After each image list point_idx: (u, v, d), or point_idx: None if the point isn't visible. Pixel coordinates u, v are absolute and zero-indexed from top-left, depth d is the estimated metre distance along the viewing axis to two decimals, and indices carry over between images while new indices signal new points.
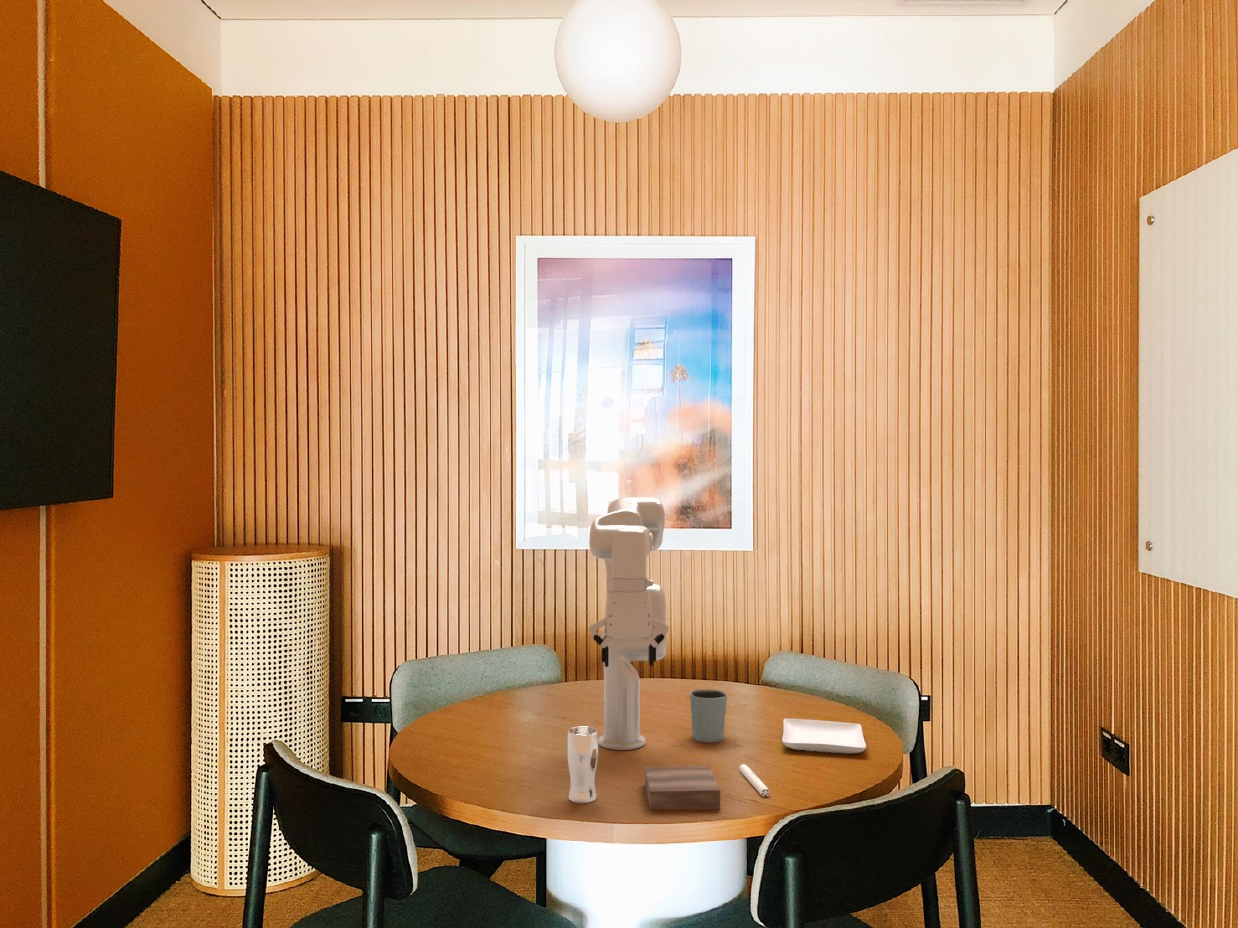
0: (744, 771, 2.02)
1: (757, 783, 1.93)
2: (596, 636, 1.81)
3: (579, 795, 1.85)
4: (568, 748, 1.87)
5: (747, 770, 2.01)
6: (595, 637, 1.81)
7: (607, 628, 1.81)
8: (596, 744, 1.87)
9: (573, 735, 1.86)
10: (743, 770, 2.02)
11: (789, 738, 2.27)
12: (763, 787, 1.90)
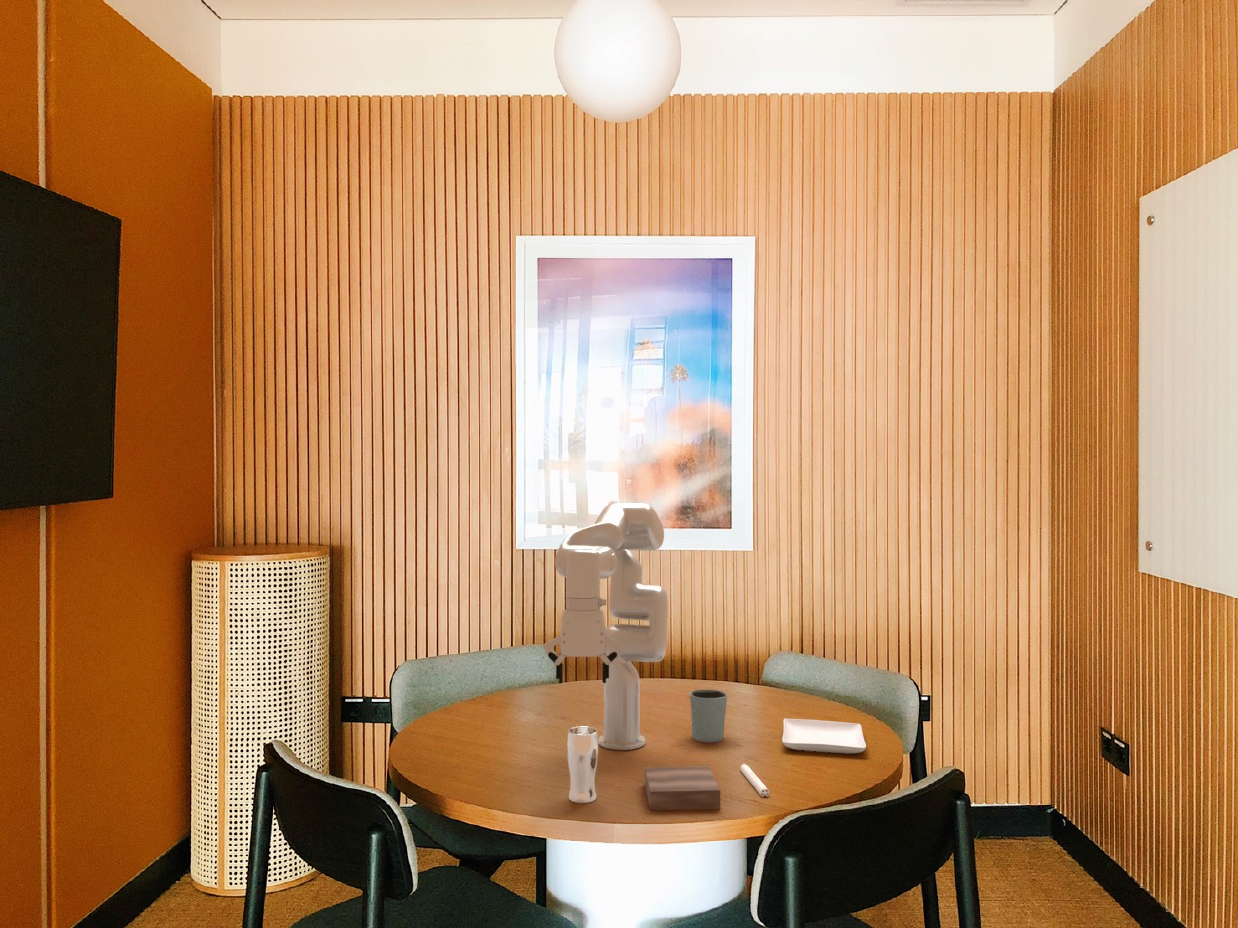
0: (745, 771, 2.02)
1: (756, 784, 1.93)
2: (550, 653, 1.87)
3: (579, 795, 1.85)
4: (568, 748, 1.87)
5: (747, 770, 2.01)
6: (549, 654, 1.87)
7: (561, 646, 1.86)
8: (596, 744, 1.87)
9: (573, 735, 1.86)
10: (744, 770, 2.02)
11: (789, 738, 2.27)
12: (762, 787, 1.90)
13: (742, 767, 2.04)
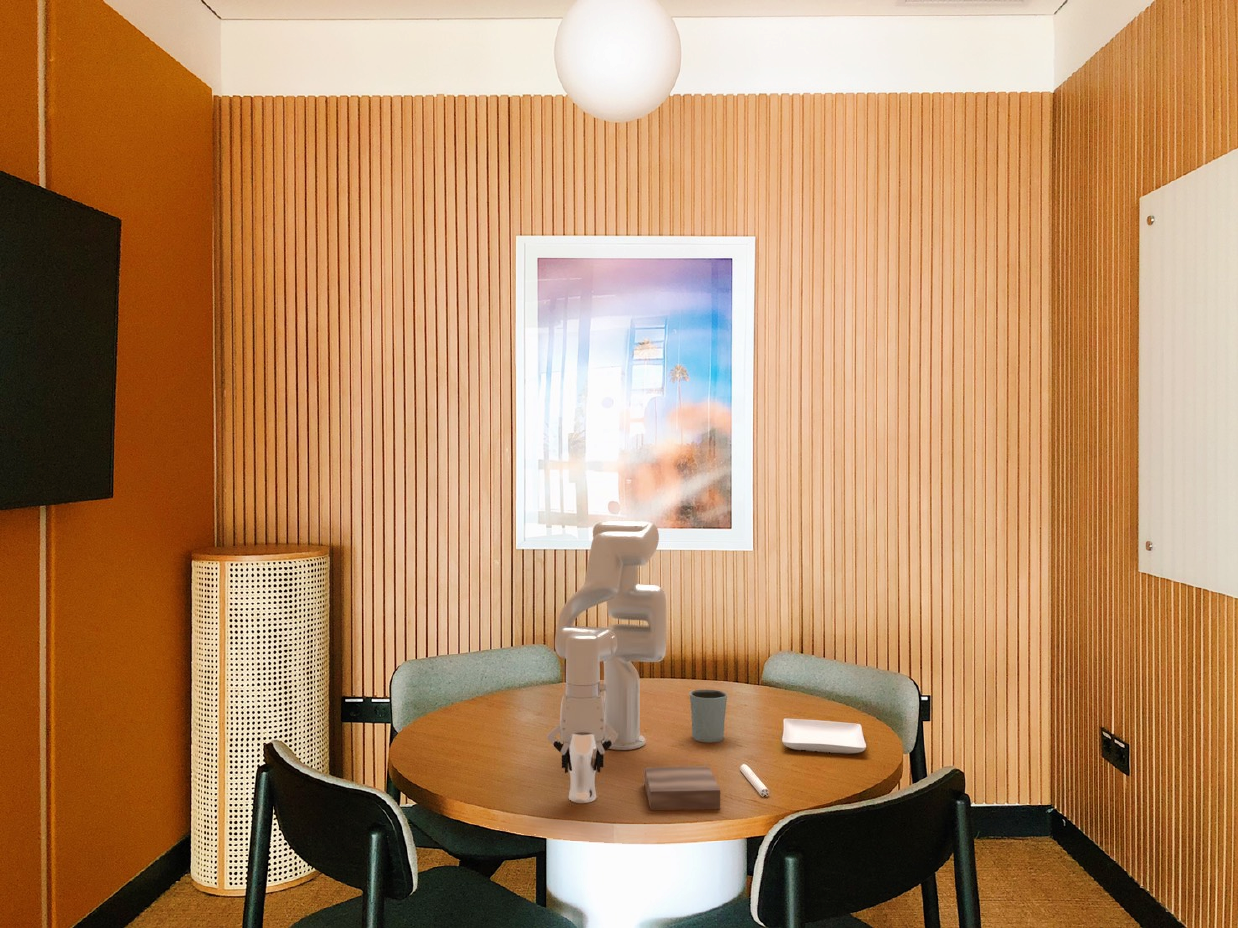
0: (744, 771, 2.02)
1: (756, 783, 1.93)
2: (556, 743, 1.87)
3: (579, 795, 1.85)
4: (568, 748, 1.87)
5: (747, 770, 2.01)
6: (555, 744, 1.87)
7: (560, 732, 1.86)
8: (596, 744, 1.87)
9: (573, 735, 1.85)
10: (743, 770, 2.03)
11: (789, 738, 2.27)
12: (762, 787, 1.90)
13: (742, 767, 2.04)
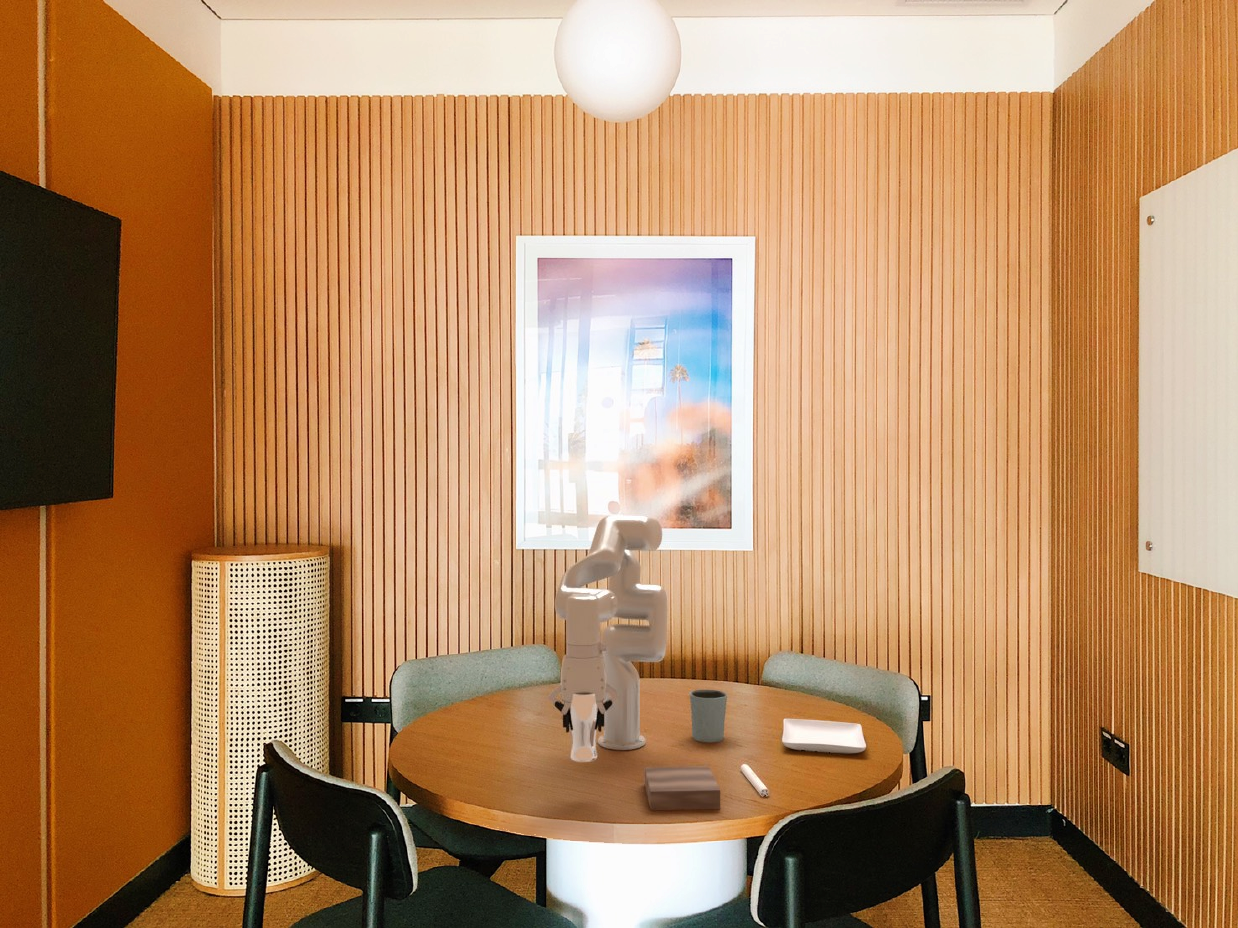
0: (745, 771, 2.02)
1: (756, 783, 1.93)
2: (557, 703, 1.88)
3: (580, 754, 1.86)
4: (569, 708, 1.87)
5: (748, 770, 2.01)
6: (556, 704, 1.88)
7: (561, 692, 1.87)
8: (597, 704, 1.87)
9: (574, 695, 1.86)
10: (744, 770, 2.03)
11: (789, 738, 2.27)
12: (762, 787, 1.90)
13: (742, 767, 2.04)
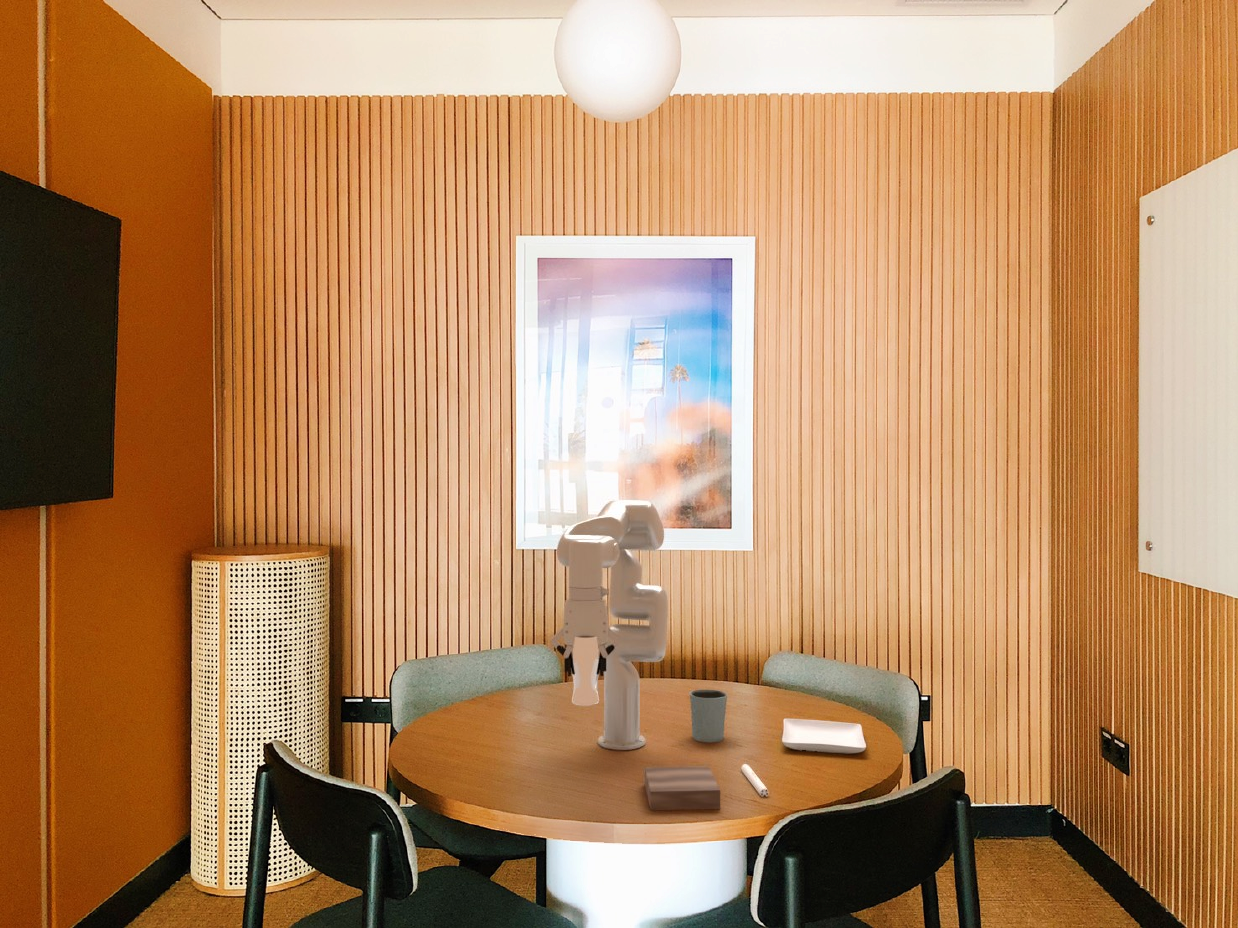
0: (745, 771, 2.02)
1: (756, 783, 1.93)
2: (559, 647, 1.87)
3: (582, 698, 1.86)
4: (571, 651, 1.87)
5: (748, 770, 2.01)
6: (558, 648, 1.87)
7: (563, 636, 1.86)
8: (599, 648, 1.87)
9: (576, 638, 1.86)
10: (744, 770, 2.03)
11: (789, 738, 2.27)
12: (762, 787, 1.90)
13: (743, 767, 2.04)
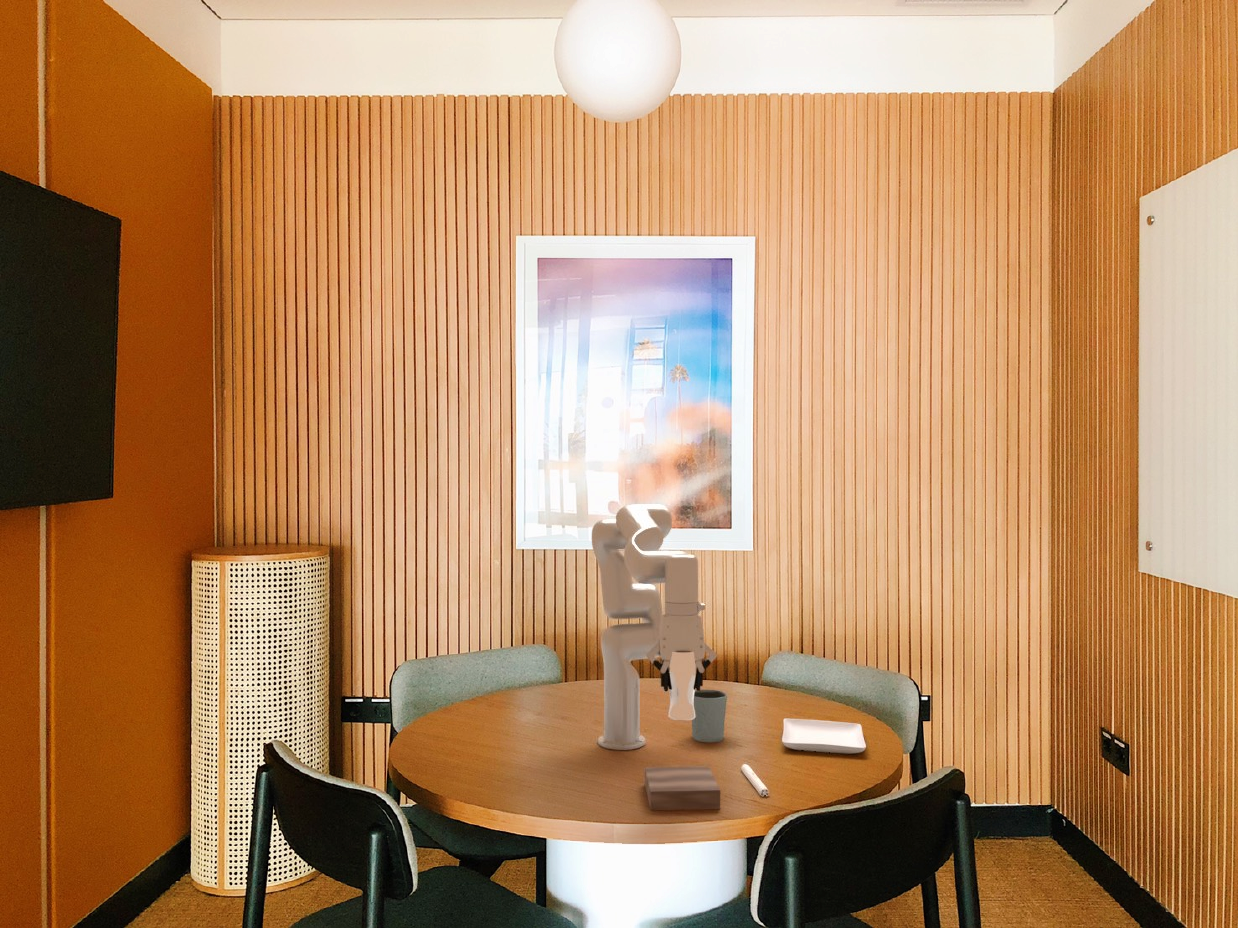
0: (745, 771, 2.02)
1: (756, 784, 1.93)
2: (656, 662, 1.88)
3: (680, 713, 1.86)
4: (668, 666, 1.88)
5: (748, 770, 2.01)
6: (655, 663, 1.88)
7: (661, 651, 1.87)
8: (696, 662, 1.88)
9: (674, 653, 1.87)
10: (744, 770, 2.03)
11: (789, 738, 2.27)
12: (762, 787, 1.90)
13: (743, 767, 2.04)
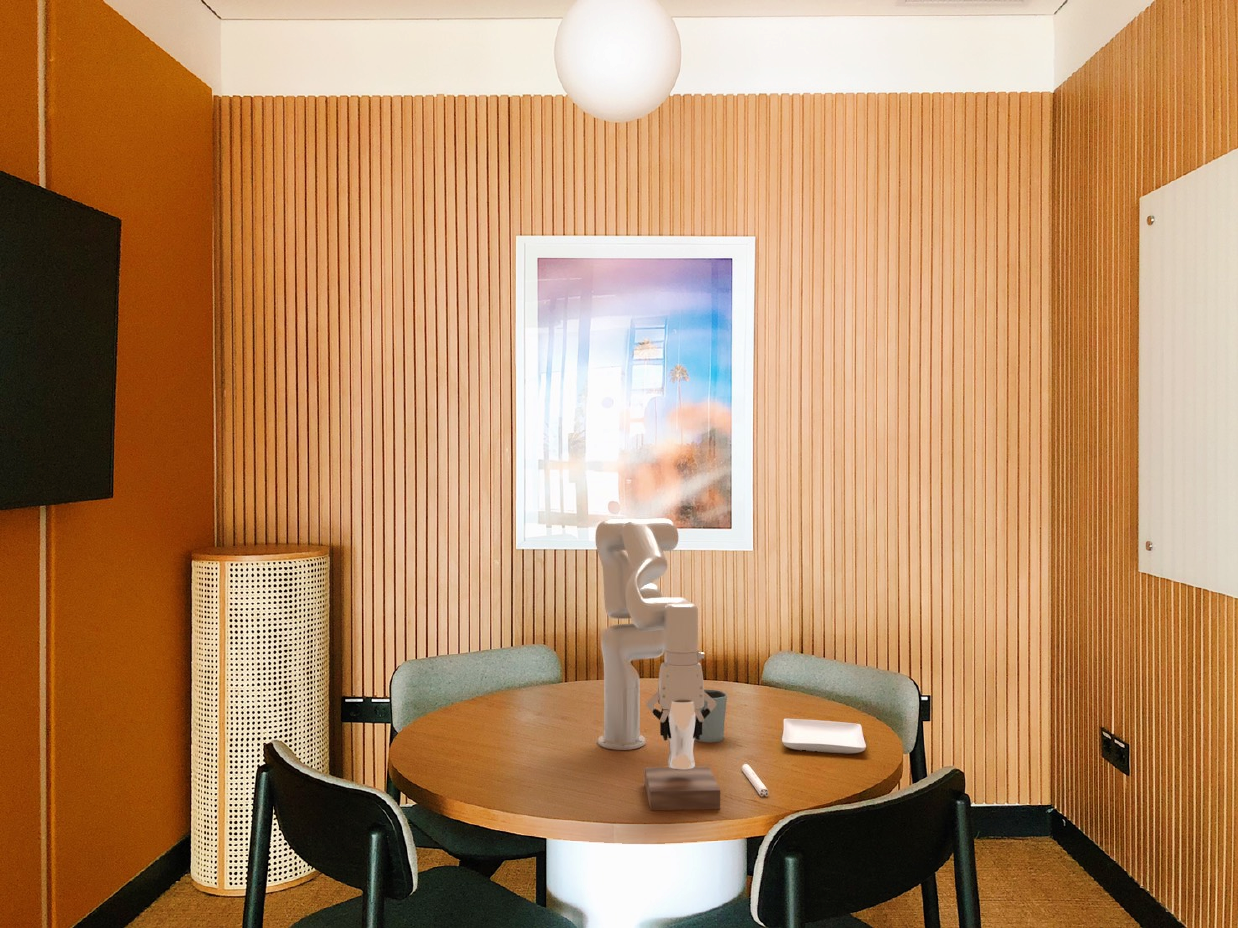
0: (745, 771, 2.02)
1: (756, 783, 1.93)
2: (655, 711, 1.88)
3: (679, 762, 1.86)
4: (668, 716, 1.88)
5: (748, 770, 2.01)
6: (654, 712, 1.88)
7: (660, 700, 1.87)
8: (695, 712, 1.88)
9: (673, 703, 1.87)
10: (745, 770, 2.03)
11: (789, 738, 2.27)
12: (762, 787, 1.90)
13: (743, 767, 2.04)
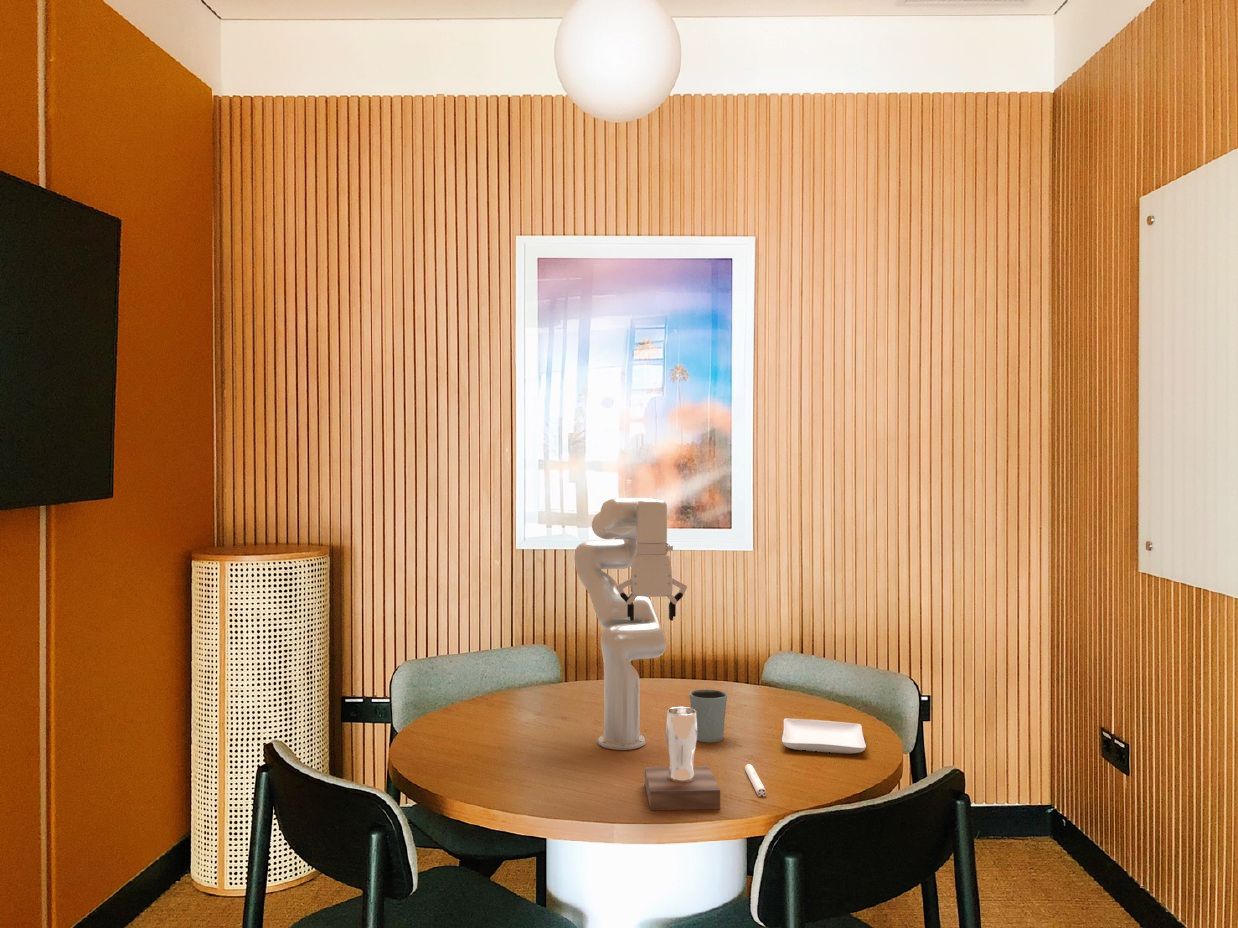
0: (747, 771, 2.02)
1: (755, 783, 1.93)
2: (623, 594, 2.06)
3: (679, 775, 1.87)
4: (668, 728, 1.88)
5: (750, 770, 2.01)
6: (622, 595, 2.06)
7: (632, 587, 2.05)
8: (696, 724, 1.88)
9: (673, 715, 1.87)
10: (747, 770, 2.03)
11: (789, 738, 2.27)
12: (760, 787, 1.90)
13: (746, 767, 2.04)
